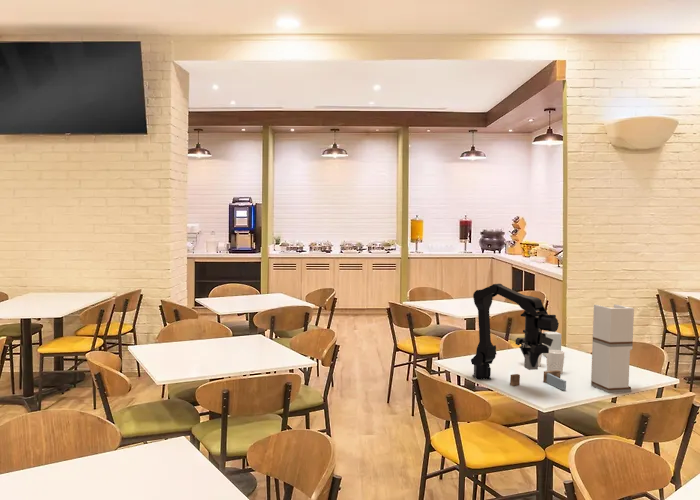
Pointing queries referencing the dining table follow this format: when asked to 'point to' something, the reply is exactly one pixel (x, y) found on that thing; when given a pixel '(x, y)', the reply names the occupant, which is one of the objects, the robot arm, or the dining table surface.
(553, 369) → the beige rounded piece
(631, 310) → the striped white pillar
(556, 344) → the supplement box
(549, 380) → the door
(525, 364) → the block
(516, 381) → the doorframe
